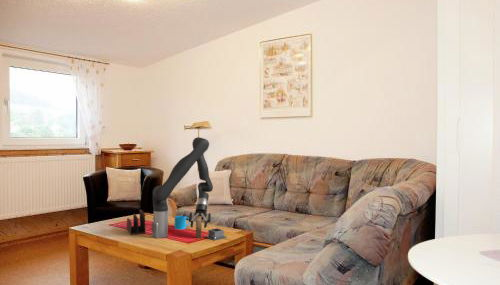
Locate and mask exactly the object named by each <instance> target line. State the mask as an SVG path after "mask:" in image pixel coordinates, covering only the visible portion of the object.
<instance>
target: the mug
mask: <svg viewBox="0 0 500 285" xmlns="http://www.w3.org/2000/svg"><path fill="white" fill-rule="evenodd" d="M187 219H188V223H187ZM190 224H191V222H189V216H188V217H187V216H186V215H176V216H174V229H175V230H185V229H186V228H187V227H188V226H189V225H190Z"/></svg>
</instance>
